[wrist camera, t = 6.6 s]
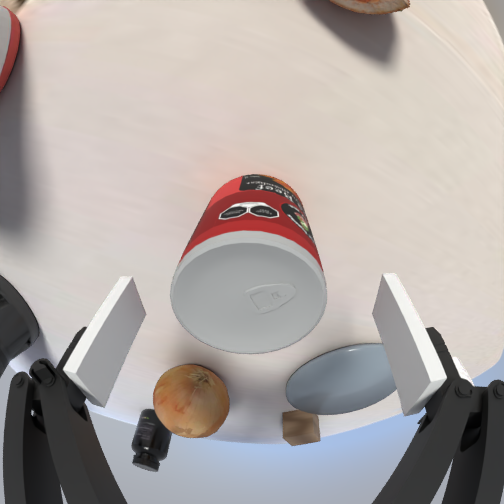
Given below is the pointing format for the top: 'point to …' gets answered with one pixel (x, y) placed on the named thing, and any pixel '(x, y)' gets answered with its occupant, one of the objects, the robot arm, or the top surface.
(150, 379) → the top surface
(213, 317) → the canned food
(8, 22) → the citrus juicer
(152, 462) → the supplement bottle
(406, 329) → the robot arm
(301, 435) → the walnut block
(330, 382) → the plate
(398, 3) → the fruit slice
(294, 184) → the top surface
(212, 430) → the onion
